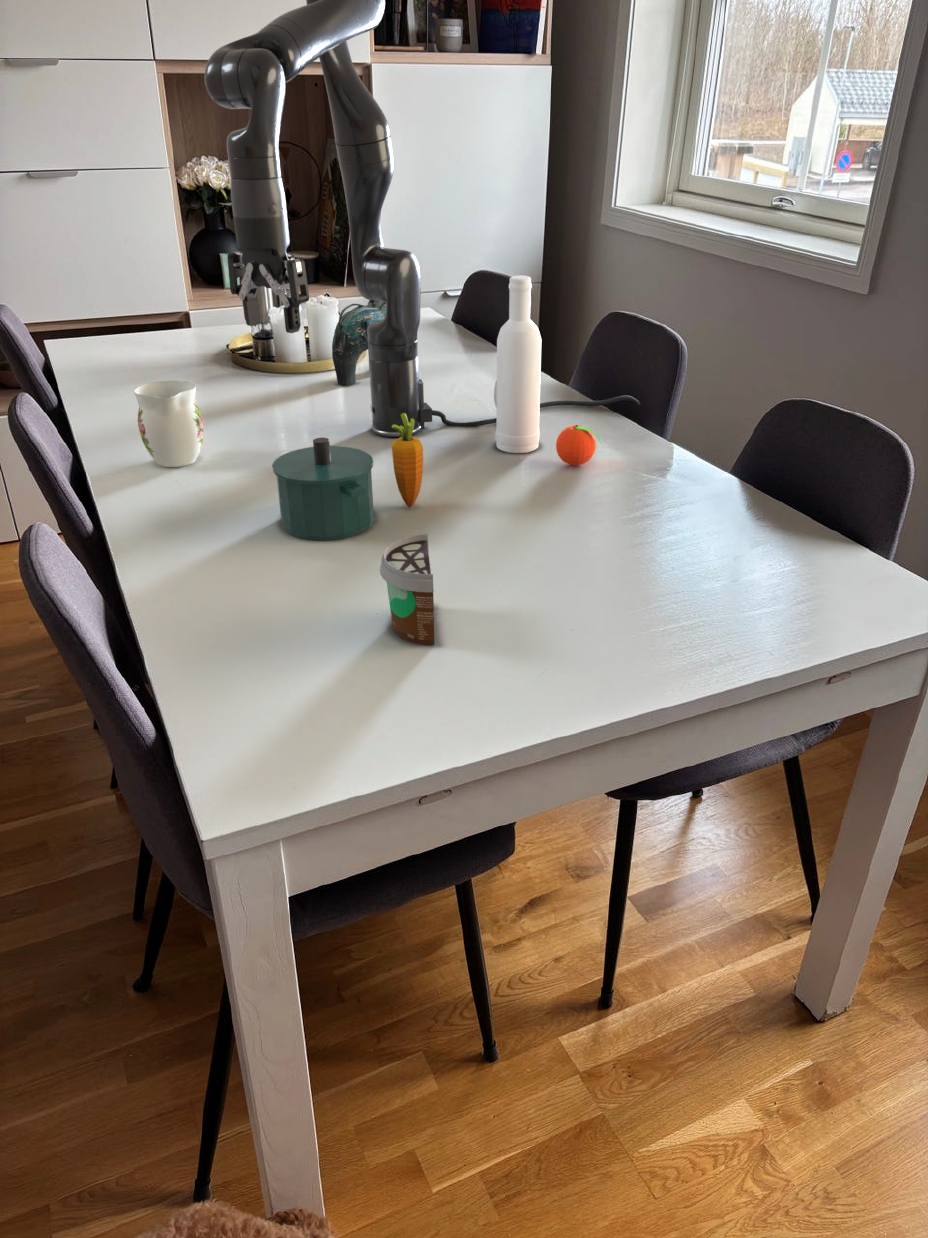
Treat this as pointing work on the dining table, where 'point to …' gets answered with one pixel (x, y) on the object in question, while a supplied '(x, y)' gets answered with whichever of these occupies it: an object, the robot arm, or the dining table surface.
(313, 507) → the pot
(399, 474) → the carrot
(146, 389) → the pitcher
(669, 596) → the dining table surface
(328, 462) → the pot lid
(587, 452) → the clementine
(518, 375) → the bottle
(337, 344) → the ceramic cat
